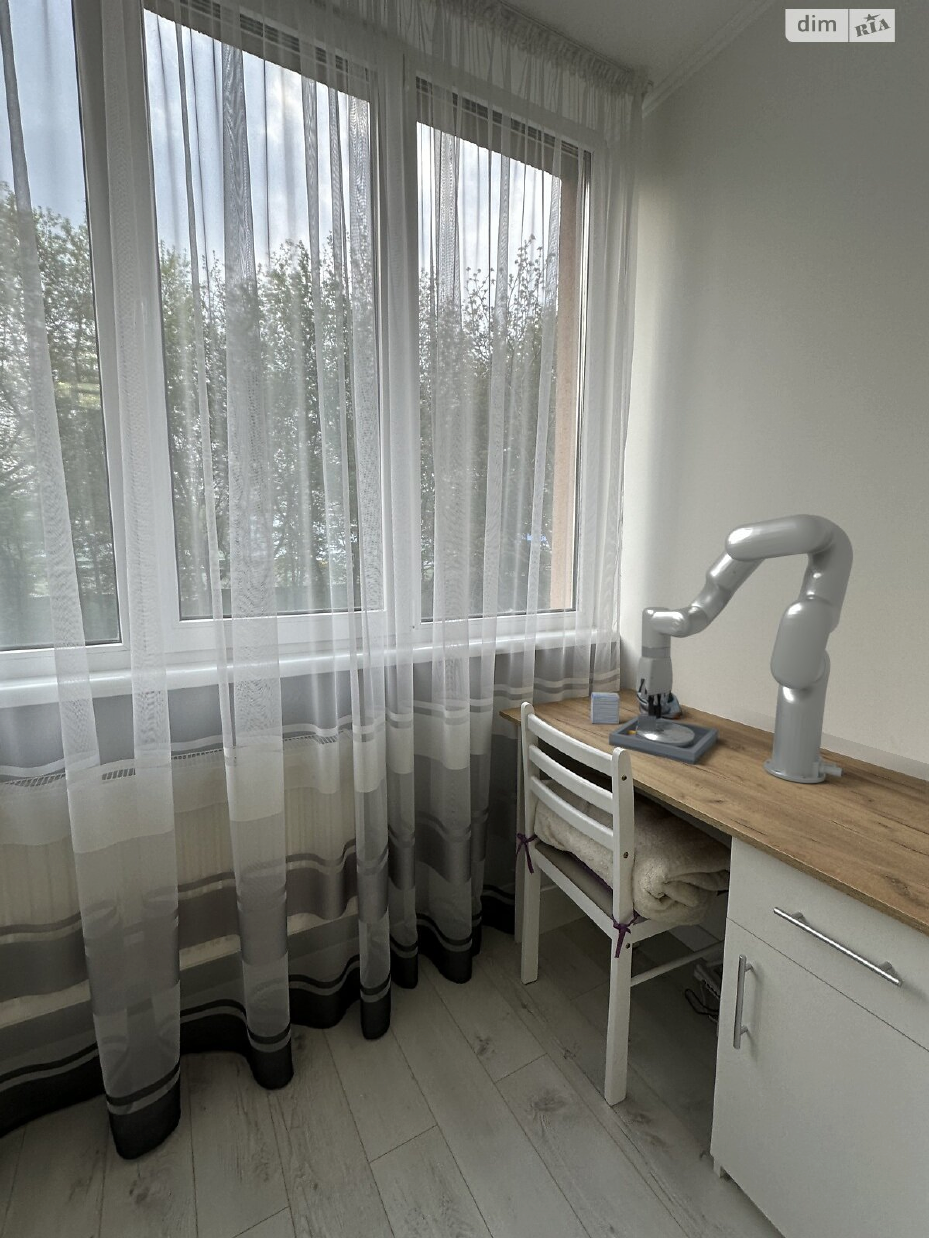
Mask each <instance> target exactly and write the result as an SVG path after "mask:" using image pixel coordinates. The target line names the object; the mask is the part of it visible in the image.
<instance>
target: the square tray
mask: <svg viewBox="0 0 929 1238" xmlns="http://www.w3.org/2000/svg"><path fill="white" fill-rule="evenodd" d="M656 722H667V723H673V724H678V725H681V726H684V727H687V728H689V729H691V730H692V731H693V732H694V743H693V744H692V745H690V746H687V747H681V748H679V747H675V746H671V745H666V744H662V743H657V742H653V741H648V740H644V739H639V738H637V737H636V735H635V733H636V726H637V725H638V715H636V716H634V717H633V718H631V719H630V720H629V721H626V722H625V723H623V724H622V725H621V726H619V727H618V728H616V729H615V730H613V731H612V732H610V733H609V735H608V737H609V738H608V745H610V746H614V747H618V748H622V747H623V748H622V749H627V750H630V751H634V752H635V751H636V752H638V753H639V752H640V753H642V754H648V755H653V756H655V757H659V758H664V759H669V760H672V761H677V762H680V763H685V764H688V765H693V766H694V765H695V764H696V763H698V761H699V760H700V759H701V758H702V757H703V756H704V755H705V754H706V753H707V752H708V751H709V750H710V748H712V747H713V746H714V744H716V743H717V742H718V740H719V729H716V728H712V727H707V726H702V725H697V724H692V723H687V722H684V721H677V720H671V719H666V718H663V717H661V718H660V719H656Z"/></svg>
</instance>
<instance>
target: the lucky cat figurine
mask: <svg viewBox="0 0 929 1238" xmlns="http://www.w3.org/2000/svg"><path fill="white" fill-rule="evenodd" d="M672 689H673V688H672ZM672 689H671V690H670V693H669V694H668V695H667V696H665V697H664V701H663V704H661V705H662V712H661V717H662V718H669V719H674V720H677V719H679V718H681V716H683V715H684V714H685V711H684V709H683V708H682V707H681V706H680V702H679V700H678V697H677V696H676V695H675V694H674V693H673V692H672ZM640 695H641V693H638V692H637V691H636V698H637V701H638V702H639V703H638V709H639V711H640V712H641V714H648V703H647V701H646V700H644V699H641V698H640Z"/></svg>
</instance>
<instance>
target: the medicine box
mask: <svg viewBox="0 0 929 1238" xmlns="http://www.w3.org/2000/svg"><path fill="white" fill-rule="evenodd" d="M590 694H591V695H590V720H591V723H592V724H594V725H597V724H601V725H619V722H620V704H621V703H620V701H621V700H620V699H621V697H620V695H619V693H617V692H601V691H600V692H598V691H597V692H595V691H593V692H591V693H590Z"/></svg>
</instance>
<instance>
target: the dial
mask: <svg viewBox="0 0 929 1238" xmlns="http://www.w3.org/2000/svg"><path fill="white" fill-rule="evenodd" d="M637 716H638V725H637V726H636V733H635V735H636V737H637V738H639V739H644V740H648V741H653V742H657V743H662V744H666V745H671V746H675V747H679V748H681V747H687V746H690V745H692V744H693V743H694V732H693V731H692V730H691V729H689V728H687V727H684V726H681V725H678V724H673V723H667V722H656V715H648V714H642V713H638V714H637Z"/></svg>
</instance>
